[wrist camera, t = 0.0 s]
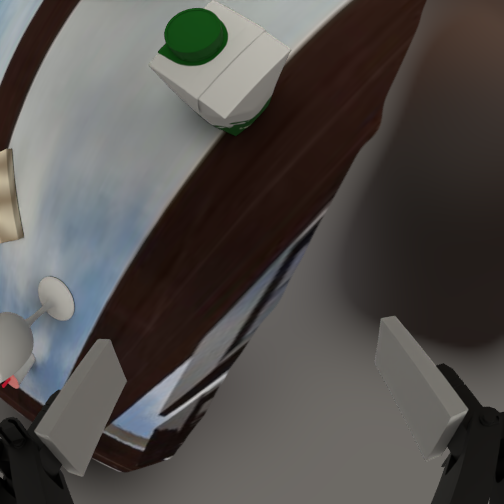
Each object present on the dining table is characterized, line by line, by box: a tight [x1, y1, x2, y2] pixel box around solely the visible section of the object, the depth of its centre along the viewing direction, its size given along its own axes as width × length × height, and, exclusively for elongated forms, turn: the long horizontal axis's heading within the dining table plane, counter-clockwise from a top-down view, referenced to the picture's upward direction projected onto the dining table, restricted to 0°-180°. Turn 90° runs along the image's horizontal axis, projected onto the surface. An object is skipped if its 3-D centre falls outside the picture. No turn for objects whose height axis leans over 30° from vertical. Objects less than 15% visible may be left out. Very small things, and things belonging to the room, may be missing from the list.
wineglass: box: [0, 277, 74, 383], centre depth 33 cm, size 9×9×21 cm
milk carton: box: [149, 0, 291, 136], centre depth 25 cm, size 9×9×20 cm
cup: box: [2, 353, 35, 388], centre depth 42 cm, size 5×5×12 cm
